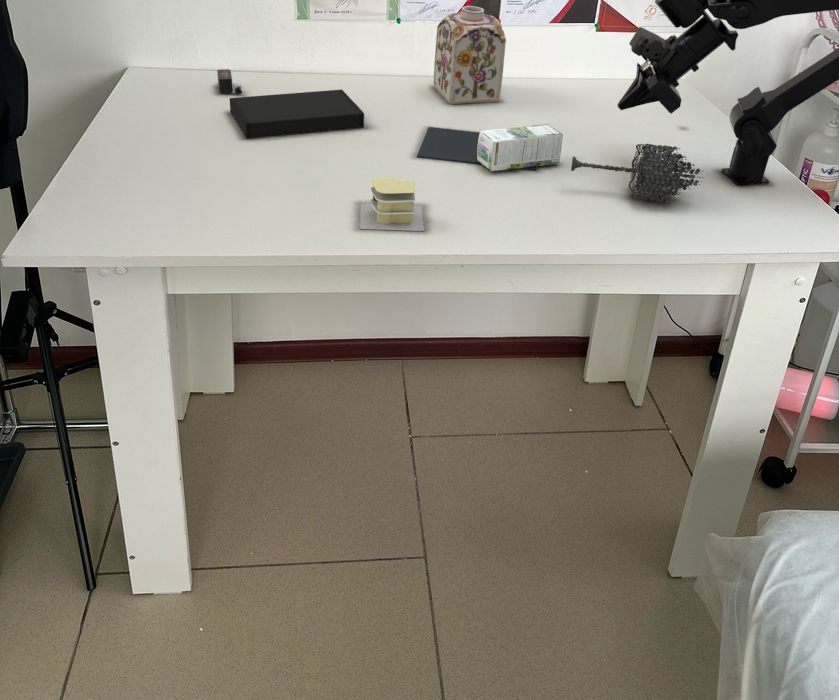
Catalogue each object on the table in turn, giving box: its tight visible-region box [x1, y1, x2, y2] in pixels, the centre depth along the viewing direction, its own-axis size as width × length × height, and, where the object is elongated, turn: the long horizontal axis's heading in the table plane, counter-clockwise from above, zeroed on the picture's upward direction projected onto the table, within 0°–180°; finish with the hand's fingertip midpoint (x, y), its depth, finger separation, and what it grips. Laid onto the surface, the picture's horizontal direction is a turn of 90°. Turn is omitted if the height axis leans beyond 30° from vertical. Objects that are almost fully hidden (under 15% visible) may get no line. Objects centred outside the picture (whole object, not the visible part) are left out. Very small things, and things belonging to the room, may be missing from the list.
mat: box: [416, 126, 538, 172], centre depth 171 cm, size 22×15×1 cm
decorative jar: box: [433, 5, 507, 105], centre depth 191 cm, size 12×12×18 cm
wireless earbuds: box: [216, 68, 243, 95], centre depth 189 cm, size 5×7×3 cm, turn 13°
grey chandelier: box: [570, 143, 704, 203], centre depth 155 cm, size 9×22×9 cm, turn 81°
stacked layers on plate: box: [359, 176, 425, 232], centre depth 144 cm, size 10×9×6 cm
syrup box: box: [477, 123, 564, 172], centre depth 164 cm, size 6×6×14 cm
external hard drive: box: [229, 89, 365, 139], centre depth 177 cm, size 14×23×3 cm, turn 112°
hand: (619, 107), depth 163 cm, fingers closed
